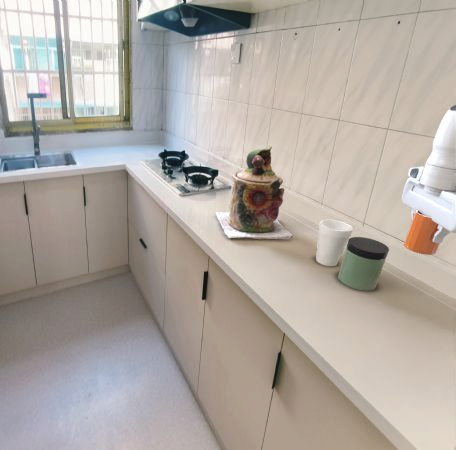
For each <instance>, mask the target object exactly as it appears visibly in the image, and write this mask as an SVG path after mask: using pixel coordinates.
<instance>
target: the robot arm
mask: <svg viewBox="0 0 456 450" xmlns="http://www.w3.org/2000/svg"><path fill="white" fill-rule="evenodd" d="M432 141H433V142H432V151H431V153H430V155H429V157H428V158H427V160H426V161H425V165H424V166H423V165H422V166H414V167H410V168H409V169H408V172H407V175H408V178H407V179H406V182H405V184H404V187H403V191H402V194H401V202H402V204H404V205H406V206H407V207H408V208H410V209H411V211H410V214H411V221H412V220H413V217H414V214H415V211H416V210H419V213H420V214H422V215H424V216H427V217H430V218H432V221H434V222H435V223H437V224H439V225H438V228H437V229H439V230H438V231H437V232H436V233H435V234H434V233H432V234H431V237H430V240H431V241H433V242H434V243H440V244H442V243H443V241H444V238H445V237H446V236H448V235H449V234H450V233H451V234H456V104H455V105H452V106H450V108H448V109H447V111H446V112H445V114H444V115H443V117H442V119H441V121H440V122H439V126H438V128H437V130H436V133H435V136H434V138H433V140H432Z"/></svg>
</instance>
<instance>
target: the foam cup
mask: <svg viewBox="0 0 456 450" xmlns="http://www.w3.org/2000/svg"><path fill="white" fill-rule="evenodd" d="M353 228H354V227H353V226H352V225H351V224H349V223H347V222H344V221H341V220H338V219H329V218H328V219H322V220H320V221H319V224H318V228H317V232H318V233H317V243H316V244H317V245H316V253H315V260H316V262H317V263H319V264H320V265H323V266H326V267H335V266H337V264H338V263H339V260H341V259H340V258H341V256H342V254H343V252H344V251H345V249H346V248H345V247H347V243H348V240H349V239H350V238H352V233H353Z"/></svg>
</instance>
